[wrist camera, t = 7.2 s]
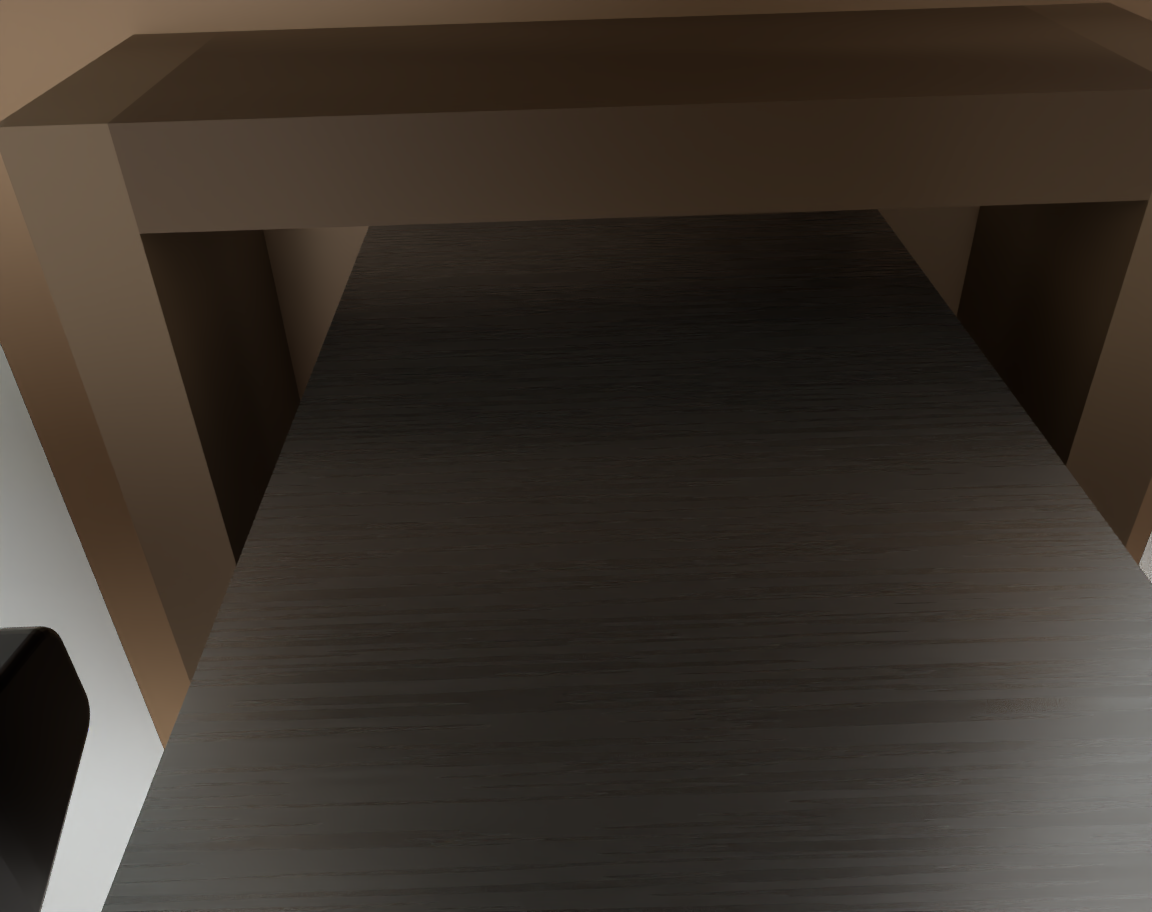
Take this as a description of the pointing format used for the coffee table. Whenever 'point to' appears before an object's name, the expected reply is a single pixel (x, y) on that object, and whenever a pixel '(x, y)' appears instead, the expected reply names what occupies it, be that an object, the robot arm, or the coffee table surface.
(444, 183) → the pallet
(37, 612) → the coffee table surface
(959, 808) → the block
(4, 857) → the robot arm
